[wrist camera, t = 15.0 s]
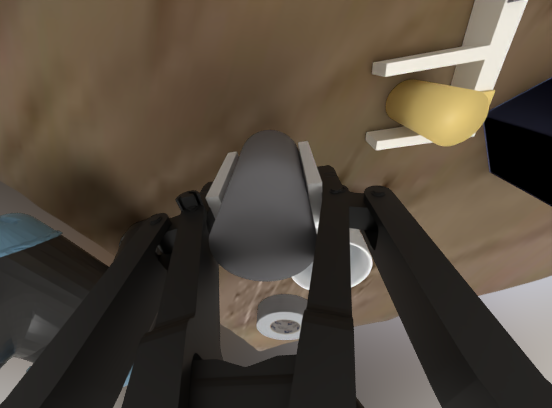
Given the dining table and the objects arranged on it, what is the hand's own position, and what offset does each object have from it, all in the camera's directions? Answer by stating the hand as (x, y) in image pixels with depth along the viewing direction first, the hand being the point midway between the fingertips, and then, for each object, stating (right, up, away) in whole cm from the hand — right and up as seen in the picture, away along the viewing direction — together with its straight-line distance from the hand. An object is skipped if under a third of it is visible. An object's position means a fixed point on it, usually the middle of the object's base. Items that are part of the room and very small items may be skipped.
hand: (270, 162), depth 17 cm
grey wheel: (+3, -33, +42) cm, 53 cm away
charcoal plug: (0, 0, +1) cm, 1 cm away
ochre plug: (+18, +10, +10) cm, 23 cm away
